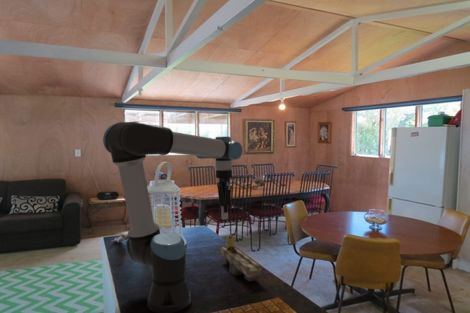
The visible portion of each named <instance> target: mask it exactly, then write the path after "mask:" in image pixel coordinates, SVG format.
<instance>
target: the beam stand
mask: <svg viewBox="0 0 470 313" xmlns="http://www.w3.org/2000/svg"><path fill="white" fill-rule="evenodd" d="M219 253H220V255H222V256H223V258H225V263H226V264H228V265H229V273H231V274H232V275H233V276H240V275H244V277H243V278H244V279H245V280H246V281H247V282H254V281H258V280H259V275H262V268H261V267H260V266H261V265H260V264H259V263H257V262H255V261H254V260H253V259H252V258H250V257H249V256H247V255H246V254H245V253H244V252H242V251H241V250H239V249H238V248H237V247H235V249H234V252H230V251H228V250H227V249H226V247H224V246H222V247H221V248H220V250H219Z"/></svg>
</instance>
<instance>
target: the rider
mask: <svg viewBox="0 0 470 313" xmlns="http://www.w3.org/2000/svg"><path fill="white" fill-rule="evenodd" d="M225 248H226V249H227V250H228V251H230V252H234V249H235V248H236V237H235V236H233V235H232V234H229V235H228V236H226V237H225Z"/></svg>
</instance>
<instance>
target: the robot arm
mask: <svg viewBox="0 0 470 313" xmlns="http://www.w3.org/2000/svg"><path fill="white" fill-rule="evenodd" d="M102 141H103V142H102V143H103V146H104V148H105V149H106V151H108V153H109V154H110V155H111V161H112V163H113V164H114V165H116V166H117V168H118V172H119V176H120V182H121V186H122V190H123V191H122V192H123V196H124V201H125V205H126V210H127V215H128V220H129V225H130V229H129V230H128V231H127V239H126V241H125V252H126V254H127V256H128V257H129V258H130V259H131V260H132V261H134V263H138V264H141V265H143V266H145V267H147V268H149V269H151V286H150V289H149V294H148V296H147V301H146V302H147V308H148V310H150V311H151V312H153V313H177V312H180V311H182V310H185V309H186V308H187V307H189V305H190V304H191V301H192V300H191V299H192V296H191V291H190V289H189V285H188V283H187V279H186V278H187V277H186V252H187V251H186V244H185V240H184V238H183V237H182V236H180V235H179V234H175V233H169V232H168V233H166V232H165V233H161V230H160V229H161V228H160V225H159V224H158V223H155V220H154V216H153V210H152V205H151V198H150V195H149V189H148V184H147V183H148V182H147V177H146V172H145V168H144V160H146V158H147V156H148V155H149V156H151V155H160V156H166V155H169V154H177V155H178V154H179V155H188V156H195V157H196V158H197V159H200V160H201V159H202V160H204V159H213V160H214V159H215V169H216V170H215V177H216V179H218V182H216V187H217V194H218V203H219V204H220V208H221V209H220V210H221V212H220V213H221V217H220V218H221V220H224V221H225V220H229V206H230V205H231V199H232V198H231V197H232V196H231V195H232V190H233V186H232V185H230V183H231V182H230V179H231V178H232V177H233V170H232V168H233V167H232V165H233V160H239V159H240V158H241V156H242V155H243V146H242V144H241V143H240V142H239V141H234V140H232V138H231V136H215V138H212V137H205V136H200V135H194V134H189V133H183V132H178V131H177V132H176V131H173V130H172V129H171V128H170V127H168V126H167V127H166V126H162V125H157V124H153V123H149V122H146V121H145V122H144V121H136V120H135V121H134V120H133V121H120V122H116V123H112V125H110V126H108V127H107V129H106V130H105V132H104V134H103V137H102Z"/></svg>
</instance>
